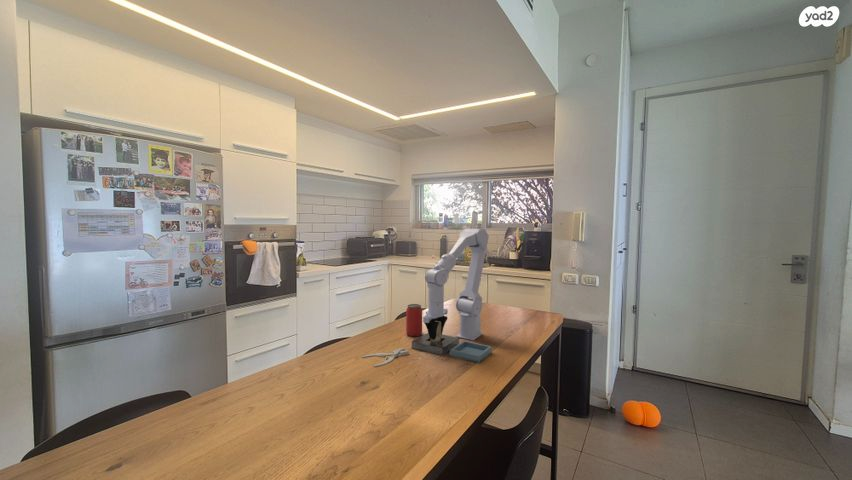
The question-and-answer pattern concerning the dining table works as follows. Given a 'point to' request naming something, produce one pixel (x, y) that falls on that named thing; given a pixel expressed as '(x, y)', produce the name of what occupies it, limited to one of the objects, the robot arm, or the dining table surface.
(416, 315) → the beer can
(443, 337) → the hitch block
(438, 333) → the birch peg
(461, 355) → the slate tray
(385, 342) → the dining table surface
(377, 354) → the pliers
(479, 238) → the robot arm
